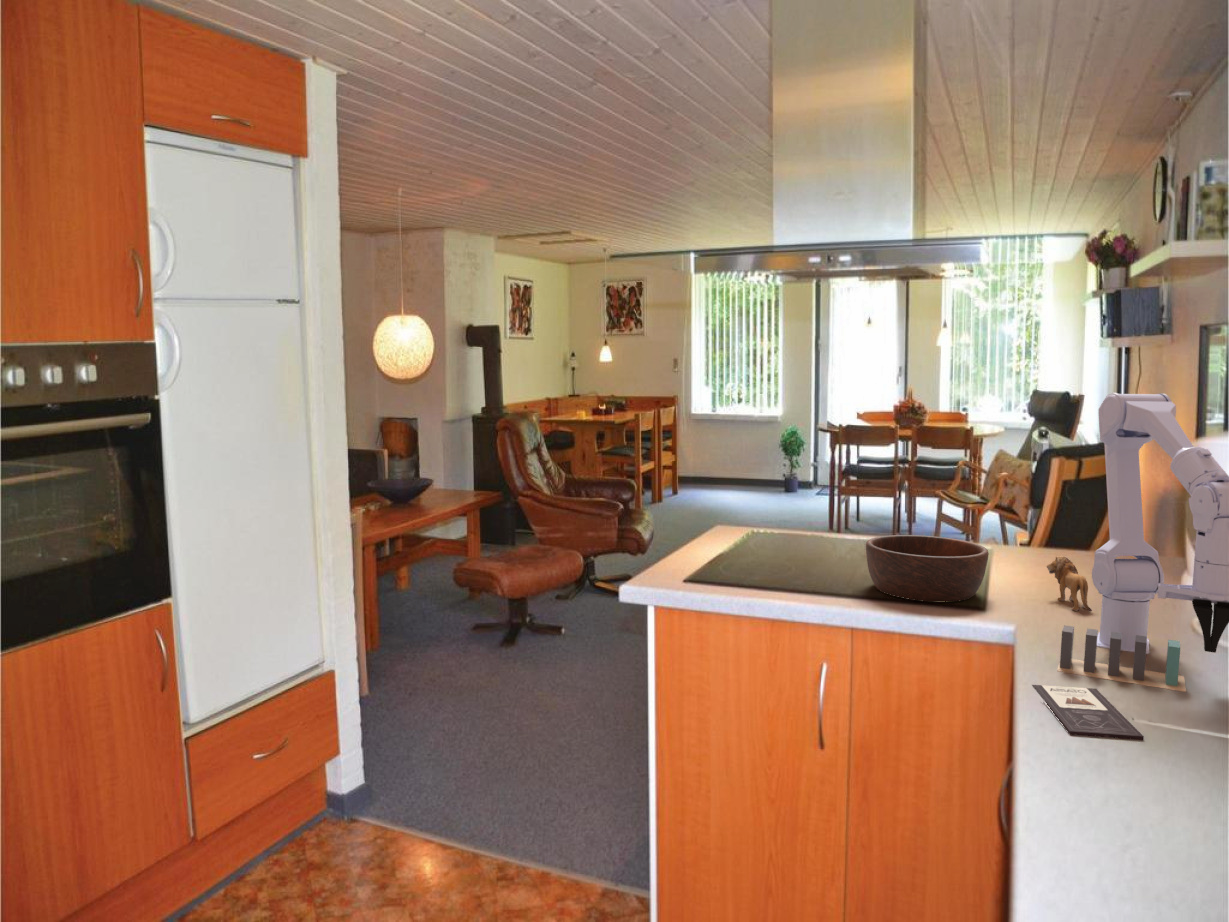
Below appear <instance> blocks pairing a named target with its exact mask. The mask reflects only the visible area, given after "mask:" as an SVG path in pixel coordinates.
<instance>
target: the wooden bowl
mask: <svg viewBox="0 0 1229 922" xmlns="http://www.w3.org/2000/svg"><path fill="white" fill-rule="evenodd" d="M865 553H866V563H867V564H866V565H867V569H868V573H869V576H870V579H871V580H872V583H873V585H874V586H875V588H876V589H877V590H878V589H879V590H881V591H883V592H885V593H888V594H891V595H895V596H899V597H904V598H909V599H915V600H923V601H945V602H944V603H947V602H946V601H958V602H960V601H959V600H964V599H967V600H969V599H971V598H972V597H974V596H975V594H977V592H978V591H979V589H980V587H981V586H982V583H983V581H984V577H985V574H986V570H987V566H988V561H989V556H990V555H989V554H990V553H989V549H987V548H986V547H984V546H983V545H981V544H978V543H975V542H972V541H968V540H963V539H956V538H953V537H952V538H950V537H944V536H943V537H942V536H933V535H923V534H922V535H920V534H916V535H915V534H896V535H895V534H894V535H882V536H881V535H880V536H877V537H872V538H870V539H868V540H867V541H866V543H865ZM879 590H878V591H879ZM881 591H880V592H881ZM883 592H882V593H883ZM885 593H884V594H885ZM968 598H969V599H968ZM923 601H922V602H923ZM964 601H965V600H964Z"/></svg>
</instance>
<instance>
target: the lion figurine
mask: <svg viewBox="0 0 1229 922" xmlns="http://www.w3.org/2000/svg"><path fill="white" fill-rule="evenodd" d="M1046 568H1047V570H1048V572H1049V574H1050V575H1053V574H1054V578H1055V579H1056V580H1057V583H1058V584H1059V593H1060V597H1058V598H1057V599H1056V600H1057V601H1059V602H1065V600H1066V589H1068V590H1070V596H1069V600H1070V601H1072V602H1073V607H1072V608H1071V609H1072V611H1074V612H1076V611H1079V610H1080V606H1079V600H1078V592H1080V598H1081V603H1082V605H1081V608H1084V609H1085V610H1086V611H1088V612H1092V611H1093V609H1092V608H1090V607H1089V605H1088V592H1089V591H1088V590H1089V584H1088V581H1087V578H1086V577H1085V576H1084V575H1081V574H1079V572H1078V570H1077V568H1076V565H1075V564H1074V562H1072V561H1071V560H1070V559H1069V558H1068V557H1066V556H1063V555H1057V556H1055V559H1054V560H1053V561H1052V562H1051V563H1049V564H1047V565H1046Z"/></svg>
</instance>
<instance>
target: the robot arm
mask: <svg viewBox="0 0 1229 922" xmlns="http://www.w3.org/2000/svg"><path fill="white" fill-rule="evenodd" d="M1176 415H1177V405H1176V404H1175V403H1174V402H1173V401H1172V399H1171V398H1170V396H1169V395H1167V394H1166V393H1164V392H1163V393H1156V394H1155V393H1153V394H1152V393H1118V392H1110V393H1109V394H1107V395H1106V396H1105V398H1104V399H1103V401H1102V403H1101V405H1100V406H1099V408H1098V426H1099V428H1098V429H1099V439H1100V442H1102V443H1103V445H1104V460H1105V475H1106V477H1105V478H1106V479H1105V480H1106V494H1107V495H1106V496H1107V497H1106V498H1107V514H1108V515H1107V516H1108V529H1109V531H1108V532H1109V540H1107V542H1106V543H1104V544H1103V545H1102V546H1101V547H1099V548H1098V549H1096V550H1095V551H1094V559H1093V567H1092V569H1091V580H1092V583H1093V586H1094V588H1095V590H1097V592H1098V594H1100V595H1101V609H1100V610H1101V611H1100V612H1101V613H1100V624H1099V625H1100V626H1099V632H1098V634H1097V648H1102V649H1108V650H1110V637H1111V632H1117V633H1122V639H1121V651H1122V652H1123V651H1124V652H1130V653H1134V651H1135V637H1136V635H1139V636H1146V637H1147V645H1146V655H1149V654H1150V640H1149V638H1148V629H1149V617H1150V602H1151V600H1154V599H1155V595H1157V598H1158V599H1162V600H1163V599H1172V600H1182V601H1190V602H1191V604H1192V608H1193V610H1194V613H1195V615H1196V617H1197V619H1198V622H1199V625H1200V628H1201V632H1202V637H1203V648H1204V649H1203V650H1204V652H1208V653H1215V654H1216V653H1217V649H1218V644H1219V641H1220V640H1221V637H1222V635H1223V632H1224V631H1225V630H1226V628H1227V626H1228V625H1229V475H1228V474H1227V472H1226V471H1225V470H1224V468H1223V467H1222V466H1221V465H1220V464H1219V463H1218V461H1217V460H1216V459H1215V458H1214V457H1213V456H1212V455H1213V454H1212V453H1211V451H1210V449H1208V448H1204V447H1201V446H1194V445H1193V443H1192V441H1191V440H1190V439H1189V437H1188V436H1187V434H1186V433H1185V431H1184V430H1183V428H1182V426H1181V425H1180V424H1179V422H1178V421H1177V419H1176ZM1153 440H1154V441H1155V442H1156V443H1157V444H1158V446H1160V447H1161V449H1162V450H1163V451H1164V452H1165V454H1167V455H1168V456H1169V457H1170V458H1171V462H1170V465H1169V466H1170V471H1171V472H1172V473H1173V474H1174V476H1175V477H1176V479H1177V480H1178V482H1179V483H1180V484H1181V486H1183V488H1184V489H1185V491H1187V493H1188V494H1189V495H1190V497H1189V498H1188V506H1189V509H1190V512H1191V514H1192V526H1193V529H1194V530H1196V535H1195V545H1194V546H1195V547H1194V559H1193V560H1194V561H1193V573H1192V584H1172V583H1164V582H1165V573H1164V571H1163V570H1164V569H1163V567H1162V565H1161V563H1160V557H1159V551H1158V550H1157V549H1155V548H1154V547H1153V546H1152V545H1150V544H1149V543H1148V542H1147V541H1145V535H1144V533H1145V532H1144V518H1143V515H1144V514H1143V503H1142V502H1143V499H1142V485H1141V469H1140V467H1141V466H1140V450H1141V448H1142V447H1143V446H1144V445H1145V444H1147V443H1151V441H1153ZM1118 557H1134V558H1118Z"/></svg>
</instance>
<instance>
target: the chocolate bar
mask: <svg viewBox="0 0 1229 922" xmlns="http://www.w3.org/2000/svg"><path fill="white" fill-rule="evenodd" d="M1031 686H1032V687H1033V689H1034V690H1035V691H1036V692H1037V693H1038V695H1039V696H1040V697H1041V698H1042V700H1043V702H1046V703H1047V705H1048V706H1049V707H1050V709H1051V710H1052V711H1053V713H1054V714H1055V716H1056V717H1057V718H1058V719H1059V721H1060V722H1061V723H1062V724H1063V726H1064V727H1065V728H1066V730H1067V731H1068V732H1067V731H1066V730H1065V731H1066V732H1067V734H1068V735H1069V734H1070V736H1079V737H1081V736H1082V737H1090V738H1091V737H1092V738H1093V737H1096V738H1106V739H1122V740H1131V741H1132V740H1136V741H1144V740H1145V739H1144V738H1145V737H1144V735H1143V734H1142V733H1141V732H1140V731H1139V730H1138V729H1137V728H1136V727H1135V726H1134V725H1133V724H1132V723H1131V722H1130V721H1129V720H1128V719H1127V718H1126V717H1125V716H1124V715H1123V714H1122V713H1121V712H1120V711H1119V710H1118V709H1117V708H1116V707H1115V706H1114V705H1113V704H1112V703H1111V702H1110V701H1109V700H1108V699H1107V698H1106V697H1105V696H1104V695H1103V694H1102V692H1100V690H1098V689H1097V688H1091V687H1090V688H1089V687H1074V686H1058V685H1044V684H1031ZM1053 713H1052V714H1053ZM1055 716H1054V717H1055ZM1056 717H1055V718H1056ZM1057 718H1056V719H1057ZM1059 721H1058V722H1059ZM1060 722H1059V723H1060ZM1061 723H1060V724H1061ZM1063 726H1062V727H1063ZM1064 727H1063V728H1064ZM1065 728H1064V729H1065Z"/></svg>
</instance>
